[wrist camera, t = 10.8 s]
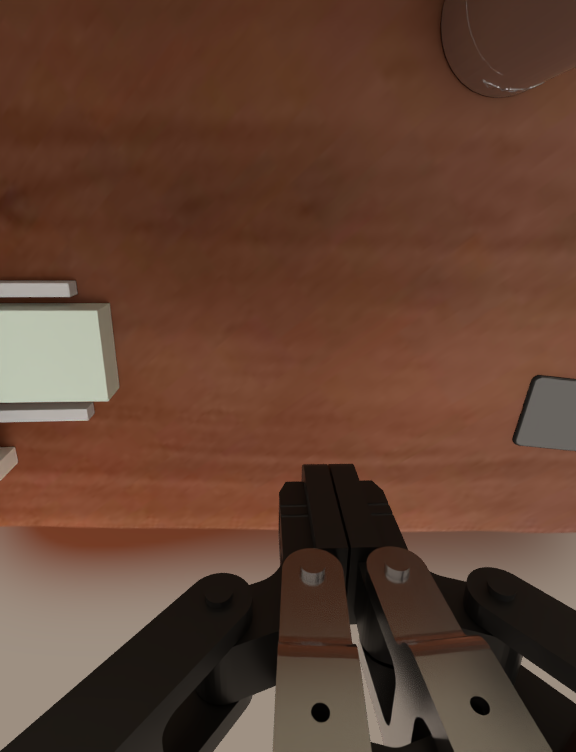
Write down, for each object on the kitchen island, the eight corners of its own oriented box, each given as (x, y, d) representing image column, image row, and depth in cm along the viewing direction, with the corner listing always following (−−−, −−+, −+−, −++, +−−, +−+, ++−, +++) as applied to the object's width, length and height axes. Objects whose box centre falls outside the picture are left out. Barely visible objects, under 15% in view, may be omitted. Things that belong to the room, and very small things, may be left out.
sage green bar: (-108, 302, 34) (-141, 310, 31) (109, 303, 35) (97, 310, 32) (-84, 389, 36) (-113, 404, 33) (119, 387, 37) (108, 401, 35)
